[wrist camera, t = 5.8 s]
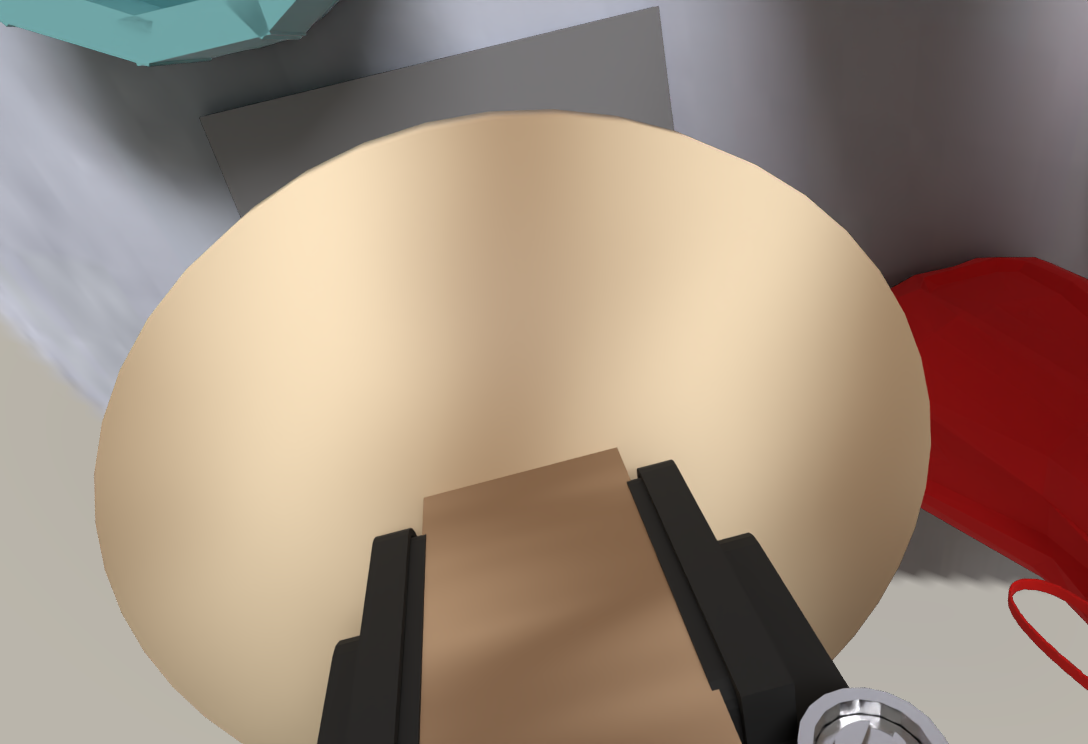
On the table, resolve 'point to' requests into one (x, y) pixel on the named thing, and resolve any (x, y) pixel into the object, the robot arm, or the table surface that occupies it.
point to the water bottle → (1009, 416)
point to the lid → (505, 427)
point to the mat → (446, 99)
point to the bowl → (166, 25)
